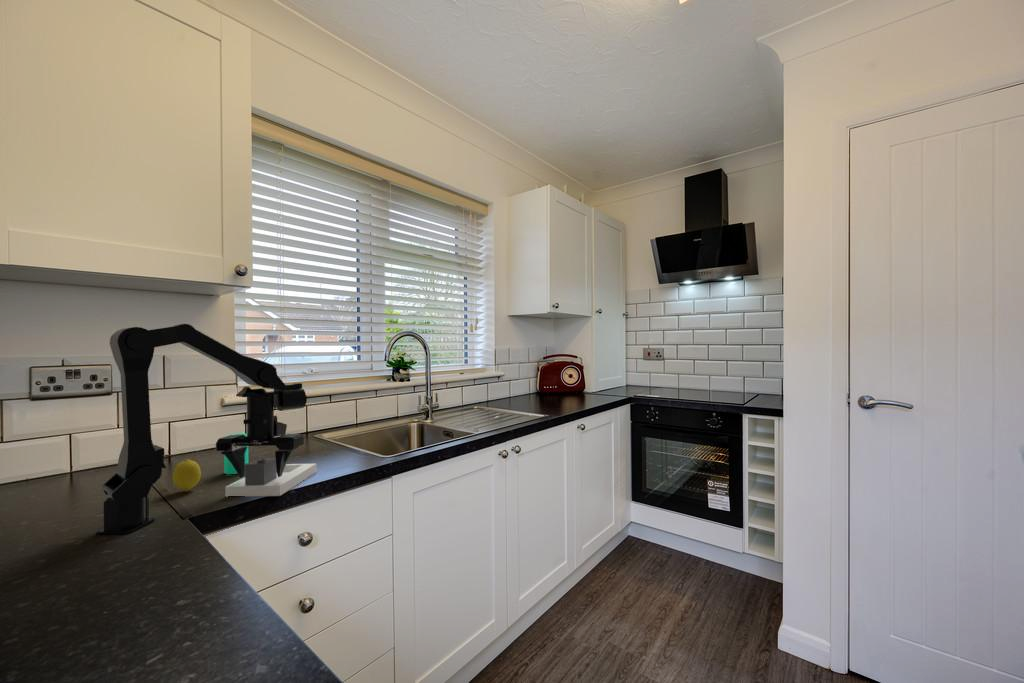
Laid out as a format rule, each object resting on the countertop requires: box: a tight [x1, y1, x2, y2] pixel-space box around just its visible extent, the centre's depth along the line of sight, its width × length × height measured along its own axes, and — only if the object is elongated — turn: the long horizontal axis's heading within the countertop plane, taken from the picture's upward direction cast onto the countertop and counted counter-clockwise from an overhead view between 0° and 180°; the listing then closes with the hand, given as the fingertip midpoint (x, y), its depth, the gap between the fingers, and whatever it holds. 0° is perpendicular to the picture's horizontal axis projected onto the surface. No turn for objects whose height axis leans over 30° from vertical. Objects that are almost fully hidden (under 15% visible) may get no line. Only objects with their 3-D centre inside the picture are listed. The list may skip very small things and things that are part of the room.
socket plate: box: [224, 463, 318, 498], centre depth 110 cm, size 19×13×3 cm
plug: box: [244, 454, 277, 485], centre depth 104 cm, size 6×4×6 cm
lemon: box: [172, 458, 202, 492], centre depth 104 cm, size 6×6×8 cm
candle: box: [223, 430, 250, 474], centre depth 120 cm, size 6×6×12 cm
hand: (261, 477), depth 104 cm, fingers open, 9 cm apart
